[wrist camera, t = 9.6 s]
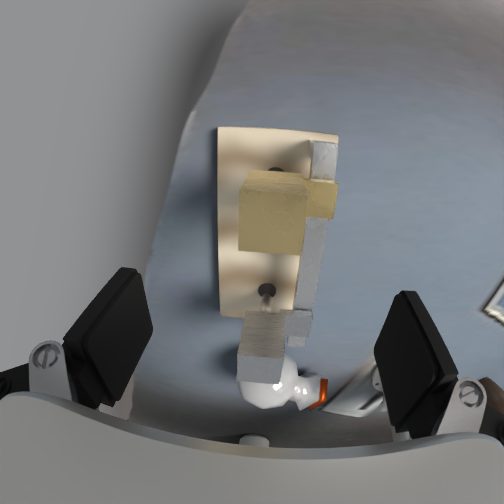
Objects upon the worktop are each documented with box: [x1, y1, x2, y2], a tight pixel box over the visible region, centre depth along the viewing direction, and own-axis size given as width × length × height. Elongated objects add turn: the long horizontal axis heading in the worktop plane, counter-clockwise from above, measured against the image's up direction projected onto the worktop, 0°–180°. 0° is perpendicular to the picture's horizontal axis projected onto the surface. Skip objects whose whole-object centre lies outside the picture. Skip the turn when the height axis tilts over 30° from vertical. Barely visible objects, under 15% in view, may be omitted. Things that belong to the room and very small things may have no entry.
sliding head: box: [238, 170, 338, 256], centre depth 22 cm, size 4×7×12 cm, turn 88°
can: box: [239, 434, 269, 447], centre depth 54 cm, size 8×8×12 cm
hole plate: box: [217, 127, 338, 318], centre depth 32 cm, size 24×12×2 cm, turn 178°
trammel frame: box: [237, 139, 338, 384], centre depth 25 cm, size 23×7×12 cm, turn 178°
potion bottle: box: [235, 353, 328, 411], centre depth 39 cm, size 9×10×15 cm
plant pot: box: [478, 378, 504, 414], centre depth 39 cm, size 15×15×16 cm
